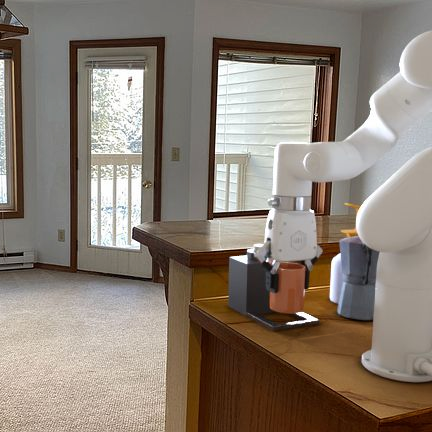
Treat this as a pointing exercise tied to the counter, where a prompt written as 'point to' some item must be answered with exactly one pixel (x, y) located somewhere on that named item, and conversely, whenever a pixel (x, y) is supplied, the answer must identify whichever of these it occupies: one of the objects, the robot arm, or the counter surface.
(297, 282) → the cup
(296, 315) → the cup bay
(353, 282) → the moka pot
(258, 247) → the brew button
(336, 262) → the soap bottle
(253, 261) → the grey box with dial
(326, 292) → the counter surface
